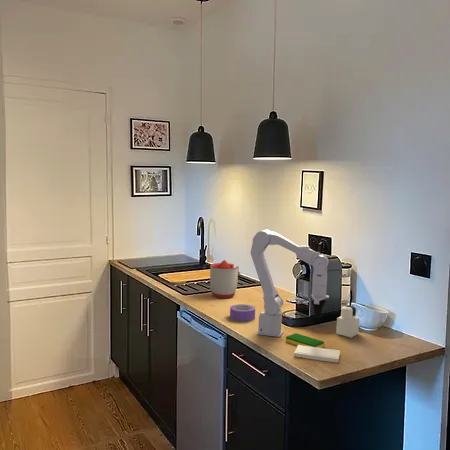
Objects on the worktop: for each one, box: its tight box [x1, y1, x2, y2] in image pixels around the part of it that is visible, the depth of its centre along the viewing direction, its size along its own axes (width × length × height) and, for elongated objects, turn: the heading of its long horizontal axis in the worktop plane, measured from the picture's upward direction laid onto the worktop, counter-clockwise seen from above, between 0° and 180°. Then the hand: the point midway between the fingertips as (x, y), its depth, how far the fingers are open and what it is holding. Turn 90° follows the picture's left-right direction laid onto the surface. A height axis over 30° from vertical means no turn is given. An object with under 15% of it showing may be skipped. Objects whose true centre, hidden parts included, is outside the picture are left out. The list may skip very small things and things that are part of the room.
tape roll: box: [229, 303, 256, 322], centre depth 224 cm, size 12×12×5 cm
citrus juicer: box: [209, 259, 241, 299], centre depth 262 cm, size 16×17×20 cm
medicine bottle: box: [335, 305, 360, 338], centre depth 204 cm, size 7×7×12 cm
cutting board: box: [293, 345, 341, 364], centre depth 179 cm, size 16×9×2 cm, turn 72°
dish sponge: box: [285, 333, 325, 348], centre depth 191 cm, size 7×14×2 cm, turn 46°
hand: (317, 317), depth 196 cm, fingers closed
